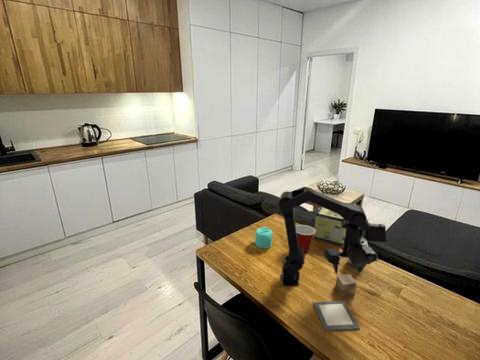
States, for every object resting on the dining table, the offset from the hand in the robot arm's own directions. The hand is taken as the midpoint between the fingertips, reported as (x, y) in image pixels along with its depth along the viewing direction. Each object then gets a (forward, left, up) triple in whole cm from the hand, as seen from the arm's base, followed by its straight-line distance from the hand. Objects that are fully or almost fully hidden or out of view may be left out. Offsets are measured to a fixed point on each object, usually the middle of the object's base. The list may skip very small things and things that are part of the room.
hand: (347, 273), depth 102 cm
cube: (0, 0, -9) cm, 9 cm away
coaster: (-9, -12, -8) cm, 17 cm away
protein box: (+9, +39, -9) cm, 41 cm away
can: (+13, +17, -9) cm, 23 cm away
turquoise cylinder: (-28, +35, -9) cm, 46 cm away
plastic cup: (-9, +29, -9) cm, 32 cm away
